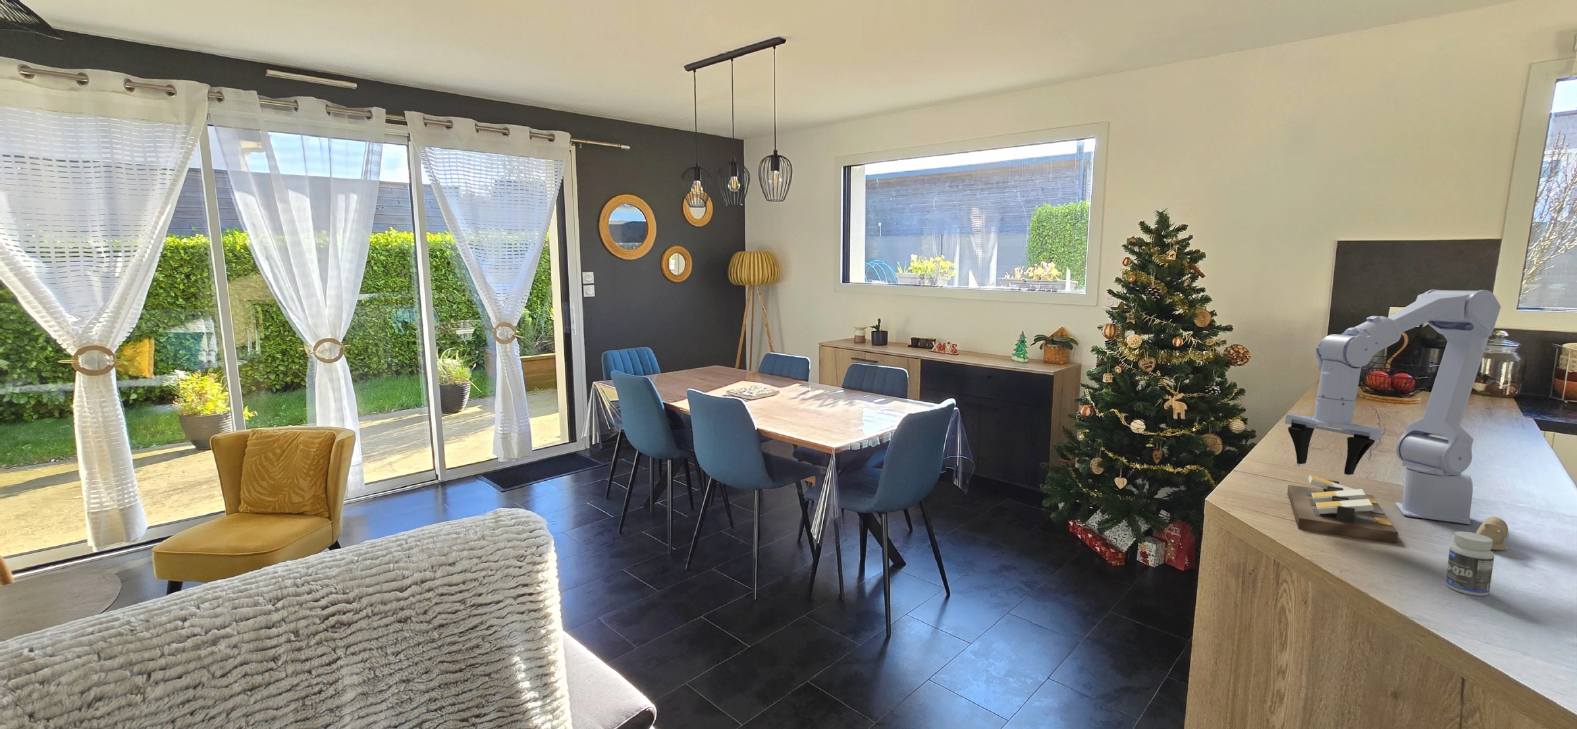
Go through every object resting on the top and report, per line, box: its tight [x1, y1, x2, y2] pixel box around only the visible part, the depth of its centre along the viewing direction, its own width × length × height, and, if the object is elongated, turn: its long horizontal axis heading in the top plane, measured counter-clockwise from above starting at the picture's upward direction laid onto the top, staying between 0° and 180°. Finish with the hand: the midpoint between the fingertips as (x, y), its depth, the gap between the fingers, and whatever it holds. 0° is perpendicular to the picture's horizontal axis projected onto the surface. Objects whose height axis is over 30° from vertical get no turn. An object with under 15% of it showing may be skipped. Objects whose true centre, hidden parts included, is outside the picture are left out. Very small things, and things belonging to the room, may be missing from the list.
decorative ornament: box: [1475, 516, 1509, 551], centre depth 117 cm, size 4×8×5 cm, turn 129°
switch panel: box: [1286, 479, 1399, 544], centre depth 133 cm, size 14×24×5 cm, turn 148°
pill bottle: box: [1445, 530, 1495, 597], centre depth 101 cm, size 5×5×8 cm
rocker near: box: [1316, 499, 1374, 514], centre depth 127 cm, size 8×4×1 cm, turn 57°
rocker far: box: [1308, 474, 1356, 490], centre depth 138 cm, size 8×4×1 cm, turn 58°
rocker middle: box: [1311, 488, 1367, 503], centre depth 132 cm, size 8×4×1 cm, turn 58°
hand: (1324, 468), depth 128 cm, fingers open, 7 cm apart
